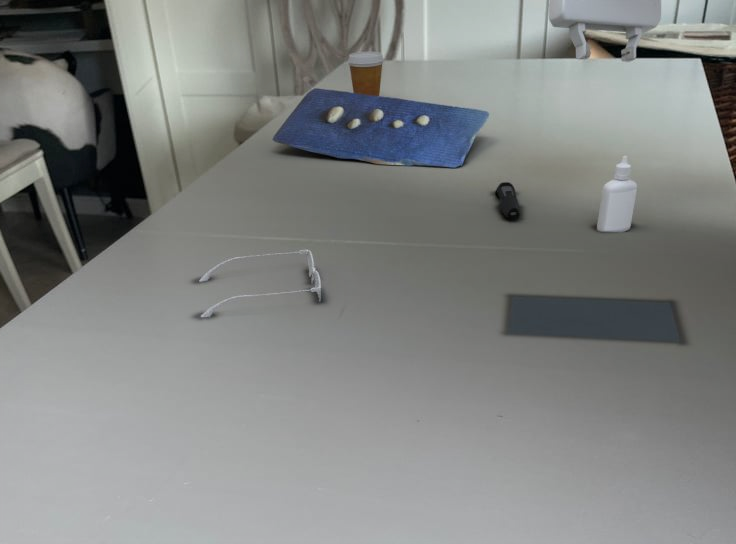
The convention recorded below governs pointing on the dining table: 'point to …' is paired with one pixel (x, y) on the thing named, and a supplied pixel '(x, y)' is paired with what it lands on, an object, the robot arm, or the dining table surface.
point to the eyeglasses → (311, 272)
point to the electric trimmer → (508, 200)
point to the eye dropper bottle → (617, 200)
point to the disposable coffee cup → (366, 72)
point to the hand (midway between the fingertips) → (606, 59)
